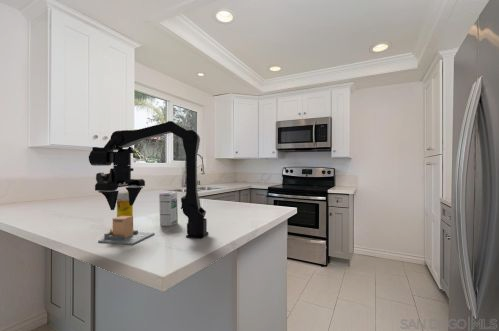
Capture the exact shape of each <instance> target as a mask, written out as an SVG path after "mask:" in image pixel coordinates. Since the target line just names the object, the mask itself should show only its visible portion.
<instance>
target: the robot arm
mask: <svg viewBox="0 0 499 331" xmlns="http://www.w3.org/2000/svg"><path fill="white" fill-rule="evenodd" d="M168 134H174V135H175V136H177V137H179V138H180V139H181V141H182V146H183V149H184V154H185V188H186V189H185V191H186V192H185V195H184V196H182V197H181V198H180V203H181V206H180V210H182V213H183V215H185V216H186V217H187V223H186V235H185V237H186V238H190V239H191V238H194V239H203V238H204V237H206V236H207V235H208V234H209V231H207V229H208V228H207V224H208V223H207V221H208V220H207V218H205V217H206V213H207V211H206V210H205V209H204V208H203V207H202V205H201V202H200V197H199V193H198V157H197V156H198V152H199V148H200V144H201V143H200V141H201V137H200V135H199V134H198V133H197V132H196V131H195V130H193V129H188V130H187V129H186V128H184V127H181V126H180V125H178V124H177V123H176V122H174V121H173V120H168V121H166V122H163V123H159V124H155V125H154V124H153V125H152V126H147V127H143V128H139V129H130V130H129V129H125V130H115V131H113V132H112V134H111V136H110V139H109V140H108V141H107V142H106V143H105V145H104V147H99V146H93V147H92V148H91V151H90V153H89V155H88V162H89V164H90V165H91V166H94V167H95V166H96V167H97V166H98V167H99V166H100V167H102V166H106V167H108V166H111V165H112V168H110V169H109V172H108V173H104V172H98V173H95V179H96V180H95V181H96V183H95V184H94V191H95V192H97V191H98V192H97V193H99V194H101V195H103V196H104V197H105V199H106V201H107V204H108V206H109V208H110V210H111V211H115V209H116V207H117V196H118V193H119V192H120V191H119V190H118V188H125V190H126V192H128V193H129V205H130V206H132V205H133V206H134V204H135V201H136V200H137V197H138V196H139V193H140V192H141V191H142V189H143V188H144V187H146V181H145V180H144V179H143V178H132V172H133V171H134V168H132V167H131V166H132V164H131V163H132V154H138V152H137V151H136V150H135V149H134V148H133V147H132V146H135V145H136V144H138V143H139V142H142V141H144V140H149V139H153V138H155V137H161V136H164V135H168Z"/></svg>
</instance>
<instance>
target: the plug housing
mask: <svg viewBox="0 0 499 331" xmlns="http://www.w3.org/2000/svg"><path fill="white" fill-rule="evenodd" d="M133 230H134V216H119V217H117V216H116V217H112V231H113V235H118V236H124V239H125V238H127V237H129V236H132V235H133Z"/></svg>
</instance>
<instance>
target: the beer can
mask: <svg viewBox="0 0 499 331" xmlns="http://www.w3.org/2000/svg"><path fill="white" fill-rule="evenodd" d="M133 206H134V204H133V205H132V206H130V205H129V193H128V191H119V192H118V196H117V201H116V217H119V216H133V215H134V213H133V212H134V211H133V209H134V208H133ZM133 217H134V216H133Z"/></svg>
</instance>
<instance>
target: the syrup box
mask: <svg viewBox="0 0 499 331" xmlns="http://www.w3.org/2000/svg"><path fill="white" fill-rule="evenodd" d="M158 196H159V197H158V199H159V201H158V202H159V225H160V226H162V227H172V226H174V225H176V224H178V221H179V220H178V217H179V216H178V192H177V191H166V192H161V193H159V194H158Z"/></svg>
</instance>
